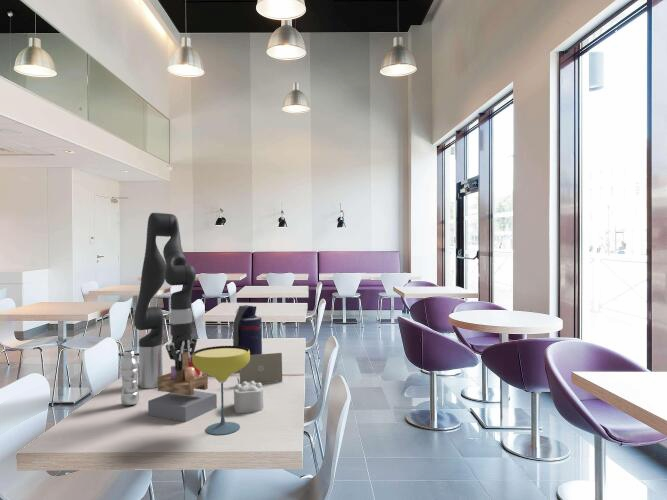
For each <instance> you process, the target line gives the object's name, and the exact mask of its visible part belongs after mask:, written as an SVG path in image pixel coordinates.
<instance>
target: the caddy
mask: <svg viewBox="0 0 667 500" xmlns="http://www.w3.org/2000/svg"><path fill="white" fill-rule="evenodd" d="M177 357H178V354H177ZM181 360H182V370H181V371H176V380H171V372H169V373H165V374H163V375H162V376H159V377H158V387H157V391H158V392H164V393H176V394H183V395H189V396H191V395H194V391H195V389H196V390H200V391H201V390H203V391H206V390H208V389H209V388H208V384H209V381H208V380H209V379H208V378H209V377H208V376H209V374H204V375H202V376H201V377H199V378H196V377H195V379H193V380H190V381H188V382H185V368H187V367H189V359H188V352H187V351H183V354H182V358H181Z"/></svg>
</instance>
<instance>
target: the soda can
mask: <svg viewBox="0 0 667 500" xmlns="http://www.w3.org/2000/svg"><path fill="white" fill-rule="evenodd" d="M192 356H193V355H191V356H190V358H189V367H194V365H193V362H192ZM194 369H195V377H196V378H199V377H201V376H203V372H201V371H199V370H198V369H197V368H195V367H194Z"/></svg>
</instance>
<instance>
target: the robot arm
mask: <svg viewBox="0 0 667 500" xmlns="http://www.w3.org/2000/svg"><path fill="white" fill-rule="evenodd" d="M179 225H180V224H179V221H178V218H177V215H175V214H172V213H164V212H151V213H150V214H149V215H148V219H147V227H146V241H145V242H146V243H145V251H144V257H143V258H144V259H143V264H142V271H141V277H140V287H139V293H138V298H137V302H136V307H135V311H134V315H133V325H134V327H135V329H136V330H139V331H147V330H150V332H149V333H148V334H146V335H145V336H143V337H141V338H139V340H138V353H139V355H138V356H139V357H138V359H139V360H138V361H139V362H138V374H137V385H138V387H140V388H142V389H155V388H158V377H159V376H162V375H164V373H163V372H164V371H163V365H164V364H163V363H164V362H163V338H164V333H163V332H164V314H163V313H164V312H163V310H162V309H161V307H160V306H151V307H149V305H150V302H151V300H153V298H154V297H155V295H156V294H157V293H158V292H159V290H160V289H161V288H162V286H163V285H164V283H165V282H166V284H168V285H170V286H183V288H182V289H181V290H179V291H175V292H172V293H171V294H170V315H169V318H170V319H169V321H170V323H169V324H170V327H169V328H170V331H169V332H170V336H171V338H172V339H171V342H170V343H169V344H166V345H165V348H166V352H167V354H168V357H169V359H170V360H173V361H174V366H175V369H176V371H181V370H182V360H181V358H182V354H183V351H187V352H188V359H189V358H190V356H191V355H193V353H194V352H195V351H196V346H197V342H198V339H197V338H192V334H193V333H194V332H193V312H192V311H193V310H192V293H193V289H194V284H195V282H196V277H197V271H196V269H195V267H194V266H193V265H192V264H186V263H187V260H186V256H185V253H184V251H183V247H182V241H181V233H180V226H179ZM157 237H165V238H168V237H170V238H169V240H168V241H167V242H166V243H165V244H164V245H163V246H164V247H163V251H162V253H163V256H162V254H161V252H160V250H159V248H158V245H157ZM177 354H178V357H177Z"/></svg>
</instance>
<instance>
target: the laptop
mask: <svg viewBox="0 0 667 500" xmlns="http://www.w3.org/2000/svg"><path fill="white" fill-rule="evenodd" d="M237 380H238V384H242V383H243V382H244V381H246V382H247V383H249V382H251V381H254V382H255V383H261V384H262V385H263V384H264V383H266V384H277V383H283V353H282V352H275V353H274V352H273V353H262V354H257V355H250V361H249V363H248V364H247V365H246V366H245V367H244V368H242V369H241V370H239V377H237Z"/></svg>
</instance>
